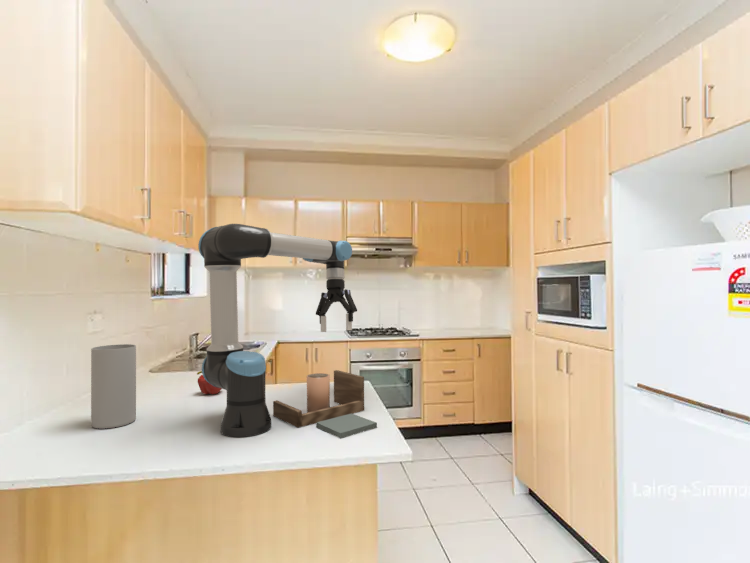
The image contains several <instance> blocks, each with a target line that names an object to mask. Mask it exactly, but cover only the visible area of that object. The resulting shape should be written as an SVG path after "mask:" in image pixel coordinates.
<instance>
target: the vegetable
mask: <svg viewBox="0 0 750 563" xmlns="http://www.w3.org/2000/svg"><path fill="white" fill-rule="evenodd" d="M200 374H201V375H200ZM196 375H200V376H198V378H197V384H198V387H199V390H200V391H201V392H200V393H202V394H203V395H216V394H218V393H220V392H221V390H223V389H222V388H217V387H214V386H213V385H211V384H210V383H208V382H207V381H206V380H205V379H204V377H203V374H202V370H200V371H197V373H196Z"/></svg>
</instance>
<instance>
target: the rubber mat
mask: <svg viewBox="0 0 750 563" xmlns="http://www.w3.org/2000/svg"><path fill="white" fill-rule="evenodd" d="M315 428H317V429H319V430H321V431H323V432H326V433H328V434H330V435H333V436H335V437H337V438H339V439H343V438H347V437H350V436H354V435H356V434H360V433H363V431H364V432H366V431H370V430H373V429H376V428H378V422H376V421H373V420H370V419H367V418H365V417H363V416H360V415H357V414H355V413H353V414H352V413H351V414H347V415H343V416H339V417H336V418H332V419H328V420H324V421H320V422H316V423H315ZM353 434H354V435H353Z"/></svg>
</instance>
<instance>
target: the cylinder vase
mask: <svg viewBox="0 0 750 563" xmlns="http://www.w3.org/2000/svg"><path fill="white" fill-rule="evenodd" d="M90 351H91V352H90V353H91V354H90V359H91V360H90V361H91V362H90V365H91V366H90V367H91V368H90V372H91V373H90V377H91V378H90V386H91V387H90V426H91V427H92V428H94V429H98V428H99V429H101V430H102V429H103V430H107V428H108V429H113V428H114V429H115V427H116V428H119V427H124V426H127V425H130V424H132V423H134V422H135V421H136V419H137V344H131V343H130V344H129V343H128V344H127V343H126V344H125V343H124V344H123V343H122V344H109V345H98V346H95V347H91V348H90ZM129 423H130V424H129ZM105 428H106V429H105ZM99 429H98V430H99Z"/></svg>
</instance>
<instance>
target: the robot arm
mask: <svg viewBox="0 0 750 563" xmlns="http://www.w3.org/2000/svg"><path fill="white" fill-rule="evenodd" d="M198 252H199V255H200V256H202V258H203V262H204V265H203V266H204V268H205V269H206V270H207V271H208V273H209V294H210V295H209V299H210V300H209V302H210V303H209V304H210V306H209V307H210V338H211V339H210V340H211V342H210V345H209V346H207V347H206V356H205V358H204V359H203V361H202V363H201V371H202V373H201V375H203V377H204V379H205V380H206V381H207V382H208V383H210V384H211V385H213V386H214V387H217V388H222V390H224V391H226V407H225V410H224V413H223V416H222V419H221V422H220V433H221V434H222V435H223V436H226V437H233V438H244V437H252V436H257V435H260V434H263V433H266V432H267V431H269V430H270V429H271V428H272V417H271V414H270V412H269V408H268V406H267V403H266V369H267V365H266V359H265V356H264V355H263V354H261V353H259V352H257V351H248V350H246V351H245V350H244V345H243V344H241V343H240V342H239V322H238V321H239V320H238V318H239V317H238V316H239V314H238V281H237V280H238V279H237V278H238V277H237V276H238V275H237V274H238V272H237V271H239V269H240V268H241V267H242V260H244V259H250V258H262V259H263V258H267V257H268V256H276V257H286V258H295V259H296V258H297V259H298V258H299V259H302V260H304V261H305V262H309V263H316V264H321V265H325V268H326V270H325V274H326V276H325V279H326V283H325V284H326V291H327V292H321V293H320V294H321V295H320V300H319V302H318V306H317V307H316V311H315V315H316V316H319V324H320V332H321V333H327V316H326V314H327V312H328V311H329V309H330V307H331V306H332V304H333V303H337V302H338V303H340V304H341V306H342V307H343V309H344V310H345V311H346V313H345V327H346V328H345V329H346V330H345V331H353V326H352V325H353V322H354V313H356V312H358V309H357V306H356V303H355V301H354V300H353V297H352V294H351V293H352V292H351V290H350V289H345V282H346V281H345V280H344V279H345V261H348V260H350V258H351V257H352V254H353V247H352V245H351V244H350V242H348V241H347V240H337V241H336V240H329V239H328V240H327V239H323V238H321V239H320V238H314V237H307V236H299V235H292V234H285V233H277V232H271V231H270V230H269V229H268V228H265V227H258V226H253V225H247V224H242V223H229V224H226V225H219V226H215V227H211V228H209V229H208V230H205V232H203V233H202V234H201V236H200V238H199V240H198Z"/></svg>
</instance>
